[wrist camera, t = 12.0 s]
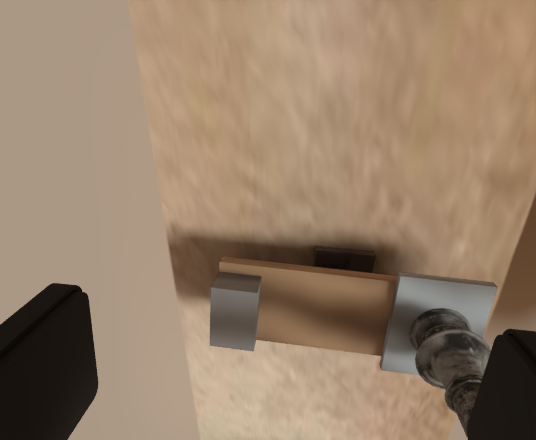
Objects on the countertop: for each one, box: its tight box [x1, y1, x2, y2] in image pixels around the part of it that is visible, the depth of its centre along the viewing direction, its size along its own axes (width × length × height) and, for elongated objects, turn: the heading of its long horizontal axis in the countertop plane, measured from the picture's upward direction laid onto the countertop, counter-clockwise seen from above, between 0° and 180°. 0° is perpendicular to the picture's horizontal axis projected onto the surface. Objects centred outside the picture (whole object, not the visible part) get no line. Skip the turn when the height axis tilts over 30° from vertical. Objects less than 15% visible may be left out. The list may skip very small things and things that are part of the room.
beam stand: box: [313, 246, 375, 273], centre depth 39 cm, size 8×22×5 cm, turn 86°
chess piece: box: [409, 308, 491, 436], centre depth 29 cm, size 6×6×12 cm
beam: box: [210, 256, 498, 375], centre depth 35 cm, size 10×24×4 cm, turn 86°
